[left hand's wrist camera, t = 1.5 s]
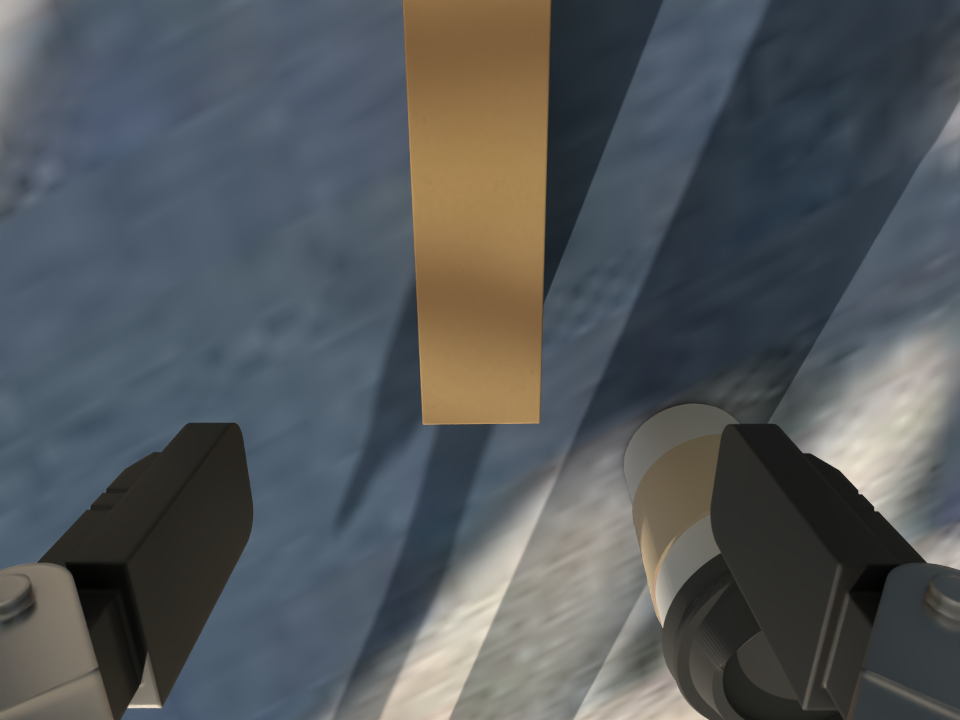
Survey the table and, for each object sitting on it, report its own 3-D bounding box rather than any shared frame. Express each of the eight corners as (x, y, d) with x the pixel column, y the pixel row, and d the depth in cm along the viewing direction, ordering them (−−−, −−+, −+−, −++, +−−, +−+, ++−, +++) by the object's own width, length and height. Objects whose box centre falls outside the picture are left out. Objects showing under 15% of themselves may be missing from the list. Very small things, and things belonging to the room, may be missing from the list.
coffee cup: (802, 448, 36) (1004, 669, 23) (684, 554, 39) (799, 810, 25) (686, 352, 34) (831, 529, 20) (569, 470, 37) (626, 699, 23)
